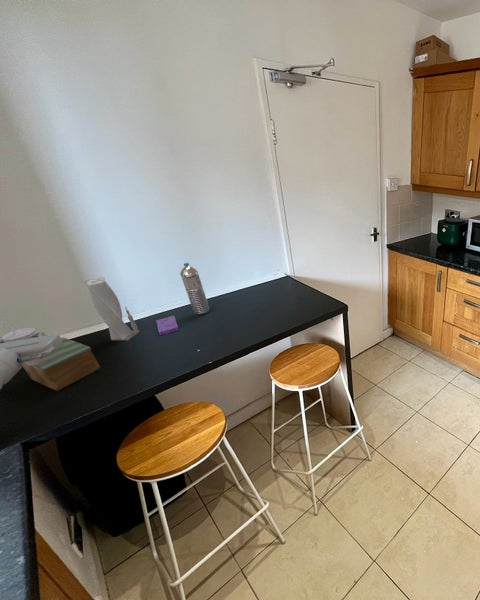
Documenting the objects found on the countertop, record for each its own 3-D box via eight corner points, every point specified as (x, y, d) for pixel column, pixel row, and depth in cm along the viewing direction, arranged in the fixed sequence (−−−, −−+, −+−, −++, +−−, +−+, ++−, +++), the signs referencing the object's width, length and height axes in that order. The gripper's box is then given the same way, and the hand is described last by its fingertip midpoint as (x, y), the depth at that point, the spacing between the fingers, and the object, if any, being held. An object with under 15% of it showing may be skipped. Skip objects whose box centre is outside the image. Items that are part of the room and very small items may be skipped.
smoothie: (15, 364, 90) (-13, 323, 84) (44, 352, 96) (20, 312, 89) (27, 370, 88) (-1, 328, 82) (56, 357, 94) (32, 316, 87)
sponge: (175, 318, 145) (174, 315, 144) (179, 330, 137) (177, 326, 136) (157, 323, 141) (155, 320, 140) (159, 335, 133) (158, 332, 132)
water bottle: (205, 315, 148) (188, 266, 136) (190, 315, 148) (173, 266, 137) (213, 308, 154) (198, 260, 143) (199, 308, 154) (183, 260, 143)
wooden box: (100, 368, 114) (90, 348, 110) (56, 391, 103) (42, 370, 99) (75, 358, 119) (64, 339, 115) (31, 379, 108) (17, 359, 104)
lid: (91, 348, 110) (90, 347, 109) (44, 370, 99) (42, 368, 99) (64, 339, 115) (63, 337, 115) (17, 358, 104) (15, 356, 104)
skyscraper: (125, 342, 128) (94, 280, 115) (105, 342, 128) (73, 280, 115) (140, 331, 136) (113, 271, 123) (122, 331, 136) (93, 271, 123)
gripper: (42, 345, 81) (66, 320, 92) (-75, 366, 73) (-34, 336, 84) (54, 364, 83) (76, 338, 95) (-57, 387, 76) (-20, 355, 87)
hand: (23, 337), depth 89 cm, fingers closed on smoothie, 6 cm apart
